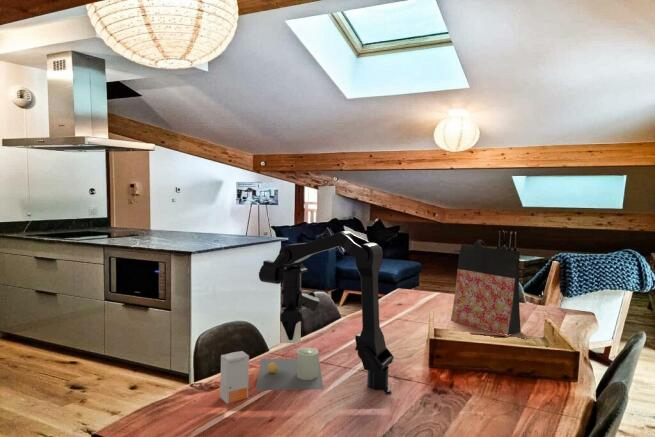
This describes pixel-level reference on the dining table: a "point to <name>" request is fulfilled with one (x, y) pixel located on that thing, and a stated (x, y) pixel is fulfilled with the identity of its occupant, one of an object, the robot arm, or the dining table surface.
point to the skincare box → (234, 376)
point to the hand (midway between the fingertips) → (290, 336)
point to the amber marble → (272, 367)
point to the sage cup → (307, 363)
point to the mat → (285, 376)
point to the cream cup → (295, 338)
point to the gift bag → (487, 288)
